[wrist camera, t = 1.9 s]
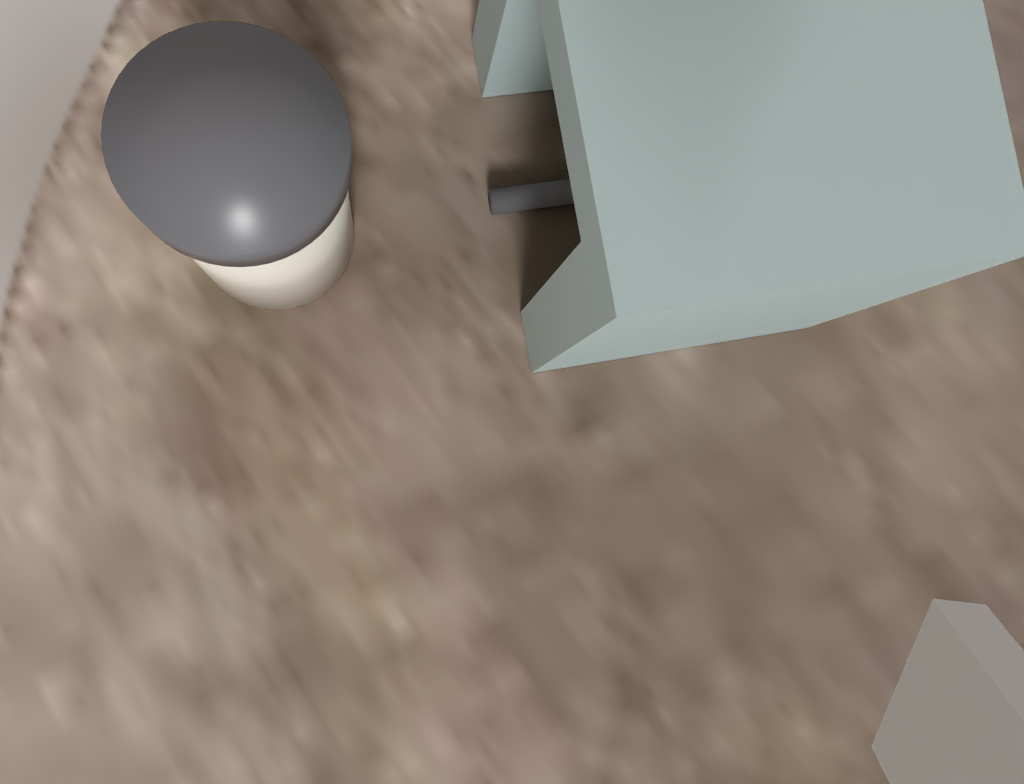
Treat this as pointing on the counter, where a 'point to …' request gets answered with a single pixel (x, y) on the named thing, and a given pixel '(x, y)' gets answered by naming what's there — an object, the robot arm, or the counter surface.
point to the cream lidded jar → (236, 159)
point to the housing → (756, 161)
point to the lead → (530, 196)
